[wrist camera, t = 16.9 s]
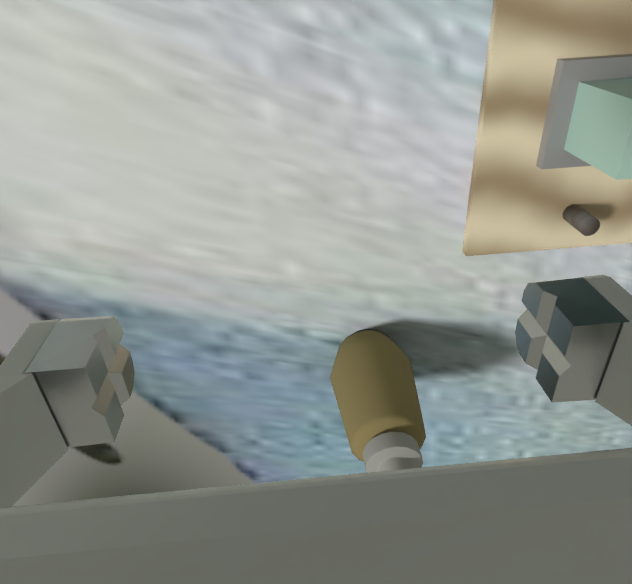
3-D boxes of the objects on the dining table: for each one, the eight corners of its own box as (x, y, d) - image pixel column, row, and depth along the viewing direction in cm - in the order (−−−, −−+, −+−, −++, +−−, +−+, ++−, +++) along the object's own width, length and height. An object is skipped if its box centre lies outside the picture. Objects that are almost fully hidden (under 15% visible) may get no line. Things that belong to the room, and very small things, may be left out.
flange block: (557, 59, 36) (622, 76, 29) (662, 51, 36) (751, 68, 30) (536, 165, 40) (588, 202, 34) (630, 158, 41) (701, 193, 34)
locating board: (503, -71, 32) (529, -77, 29) (765, -86, 33) (821, -93, 30) (462, 250, 45) (477, 272, 42) (651, 235, 46) (680, 255, 43)
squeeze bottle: (406, 317, 49) (466, 468, 34) (400, 377, 53) (452, 535, 38) (326, 322, 49) (350, 477, 33) (327, 382, 53) (349, 544, 38)
